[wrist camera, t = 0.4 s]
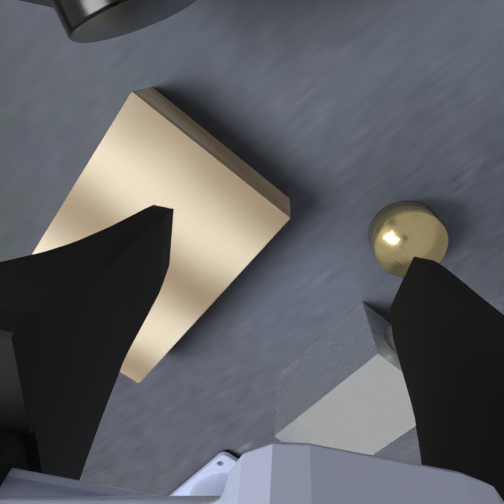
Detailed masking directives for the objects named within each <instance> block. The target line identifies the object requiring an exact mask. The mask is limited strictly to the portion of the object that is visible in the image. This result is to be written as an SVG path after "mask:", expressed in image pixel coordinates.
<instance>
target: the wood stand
mask: <svg viewBox="0 0 504 504" xmlns="http://www.w3.org/2000/svg"><path fill="white" fill-rule="evenodd" d="M152 205H157V206H162V207H167V208H172V209H174V212H173V225H172V238H171V250H170V263H169V268H168V271H167V274H166V277H165V280H164V282H163V285H162V288H161V290H160V293H159V295H158V297H157V299H156V301H155V302H154V304H153V306H152V308H151V310H150V312H149V314H148V316H147V317H146V319H145V321H144V323H143V325H142V327H141V329H140V330H139V332H138V334H137V336H136V338H135V340H134V342H133V344H132V345H131V347H130V349H129V351H128V353H127V355H126V358H125V360H124V362H123V364H122V367H121V369H120V372H121V373H123V374H124V375H126V376H128V377H129V378H131V379H132V380H134V381H136V382H137V383H140V382H141V381H142V379H143V378H144V377H145V376H146V375H147V374H148V373H149V372H150V371H151V370H152V369H153V367H154V366H155V365H156V364H157V363H158V362H159V361H160V360H161V359H162V358H163V357H164V355H165V354H166V353H167V352H168V351H169V350H170V349H171V348H172V347H173V346H174V345H175V343H176V342H177V341H178V340H179V339H180V338H181V337H182V336H183V335H184V334H185V333H186V331H187V330H188V329H189V328H190V327H191V326H192V325H193V324H194V323H195V322H196V321H197V319H198V318H199V317H200V316H201V315H202V314H203V313H204V312H205V311H206V310H207V309H208V307H209V306H210V305H211V304H212V303H213V302H214V301H215V300H216V299H217V298H218V297H219V295H220V294H221V293H222V292H223V291H224V290H225V289H226V288H227V287H228V286H229V285H230V283H231V282H232V281H233V280H234V279H235V278H236V277H237V276H238V275H239V274H240V273H241V271H242V270H243V269H244V268H245V267H246V266H247V265H248V264H249V263H250V262H251V261H252V259H253V258H254V257H255V256H256V255H257V254H258V253H259V252H260V251H261V250H262V249H263V248H264V246H265V245H266V244H267V243H268V242H269V241H270V240H271V239H272V238H273V237H274V236H275V234H276V233H277V232H278V231H279V230H280V229H281V228H282V227H283V226H284V225H285V224H286V222H287V221H288V220H289V219H290V198H289V197H287V196H286V195H285V194H284V193H282V192H281V191H280V190H279V189H277V188H276V187H275V186H274V185H273V184H271V183H270V182H269V181H268V180H266V179H265V178H264V177H263V176H261V175H260V174H259V173H258V172H257V171H255V170H254V169H253V168H252V167H250V166H249V165H248V164H247V163H245V162H244V161H243V160H242V159H241V158H239V157H238V156H237V155H236V154H234V153H233V152H232V151H231V150H229V149H228V148H227V147H226V146H225V145H223V144H222V143H221V142H220V141H218V140H217V139H216V138H215V137H213V136H212V135H211V134H210V133H209V132H207V131H206V130H205V129H204V128H202V127H201V126H200V125H199V124H197V123H196V122H195V121H194V120H192V119H191V118H190V117H189V116H188V115H186V114H185V113H184V112H183V111H181V110H180V109H179V108H178V107H176V106H175V105H174V104H173V103H172V102H170V101H169V100H168V99H167V98H165V97H164V96H163V95H162V94H160V93H159V92H158V91H157V90H156V89H154V88H153V87H150V88H146V89H141V90H137V91H132V92H131V94H130V96H129V97H128V99H127V100H126V102H125V104H124V105H123V107H122V109H121V110H120V112H119V114H118V115H117V117H116V118H115V120H114V122H113V123H112V125H111V127H110V128H109V130H108V131H107V133H106V135H105V136H104V138H103V140H102V141H101V143H100V145H99V146H98V148H97V149H96V151H95V153H94V154H93V156H92V158H91V159H90V161H89V162H88V164H87V166H86V167H85V169H84V171H83V172H82V174H81V176H80V177H79V179H78V180H77V182H76V184H75V185H74V187H73V189H72V190H71V192H70V193H69V195H68V197H67V198H66V200H65V202H64V203H63V205H62V207H61V208H60V210H59V211H58V213H57V215H56V216H55V218H54V220H53V221H52V223H51V224H50V226H49V228H48V229H47V231H46V233H45V234H44V236H43V238H42V239H41V241H40V242H39V244H38V246H37V247H36V249H35V251H34V252H33V254H37V253H41V252H45V251H48V250H51V249H54V248H58V247H61V246H64V245H67V244H70V243H72V242H75V241H78V240H80V239H83V238H85V237H87V236H90V235H92V234H94V233H97V232H99V231H101V230H103V229H106V228H108V227H110V226H112V225H114V224H116V223H118V222H120V221H122V220H124V219H126V218H128V217H130V216H132V215H134V214H136V213H138V212H139V211H141V210H143V209H145V208H147V207H149V206H152ZM33 254H32V255H33Z"/></svg>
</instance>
